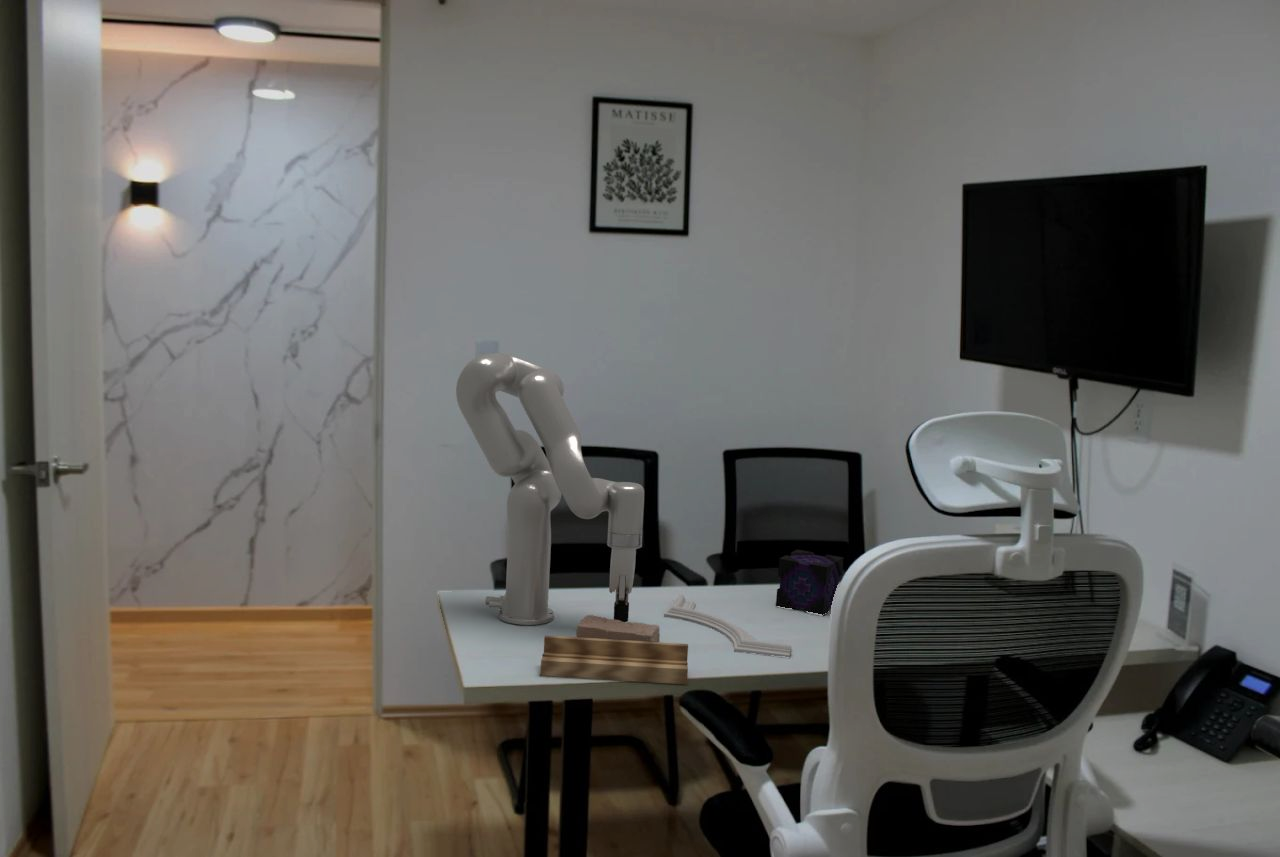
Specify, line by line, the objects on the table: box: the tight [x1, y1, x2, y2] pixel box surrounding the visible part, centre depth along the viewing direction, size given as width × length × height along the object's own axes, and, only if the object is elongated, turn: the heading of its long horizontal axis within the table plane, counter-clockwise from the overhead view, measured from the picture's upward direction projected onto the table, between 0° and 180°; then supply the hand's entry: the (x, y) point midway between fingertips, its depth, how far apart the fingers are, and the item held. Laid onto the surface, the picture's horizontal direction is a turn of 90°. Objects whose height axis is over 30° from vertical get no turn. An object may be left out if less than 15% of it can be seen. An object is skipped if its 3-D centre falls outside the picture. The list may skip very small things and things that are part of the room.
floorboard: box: [540, 634, 689, 685], centre depth 217 cm, size 28×10×6 cm, turn 89°
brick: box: [575, 614, 661, 642], centre depth 234 cm, size 17×8×5 cm, turn 79°
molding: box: [663, 594, 793, 657], centre depth 247 cm, size 42×12×3 cm, turn 33°
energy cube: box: [775, 549, 844, 615], centre depth 270 cm, size 12×12×12 cm
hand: (620, 620), depth 245 cm, fingers closed
